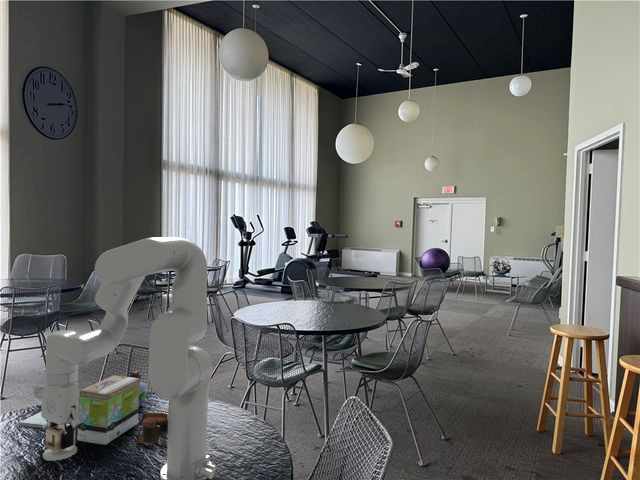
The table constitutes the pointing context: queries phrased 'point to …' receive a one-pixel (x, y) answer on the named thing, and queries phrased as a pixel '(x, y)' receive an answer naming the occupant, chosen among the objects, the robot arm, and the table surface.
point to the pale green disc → (59, 454)
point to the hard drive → (34, 421)
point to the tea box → (108, 409)
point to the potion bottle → (142, 386)
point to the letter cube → (55, 438)
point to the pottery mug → (153, 427)
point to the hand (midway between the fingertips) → (60, 443)
